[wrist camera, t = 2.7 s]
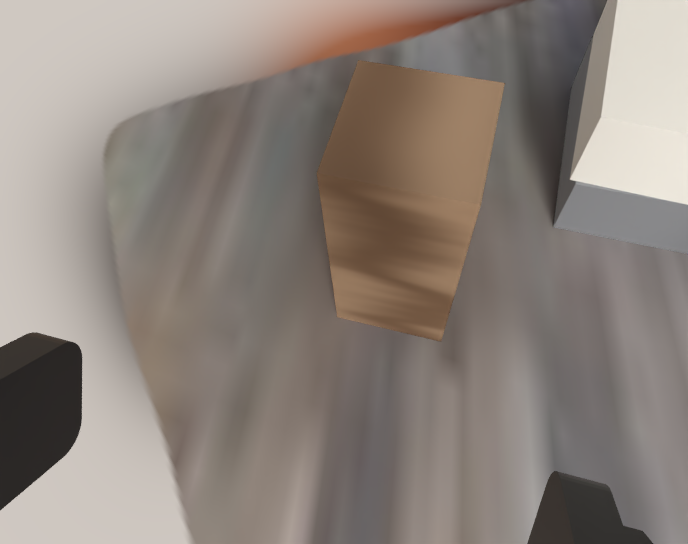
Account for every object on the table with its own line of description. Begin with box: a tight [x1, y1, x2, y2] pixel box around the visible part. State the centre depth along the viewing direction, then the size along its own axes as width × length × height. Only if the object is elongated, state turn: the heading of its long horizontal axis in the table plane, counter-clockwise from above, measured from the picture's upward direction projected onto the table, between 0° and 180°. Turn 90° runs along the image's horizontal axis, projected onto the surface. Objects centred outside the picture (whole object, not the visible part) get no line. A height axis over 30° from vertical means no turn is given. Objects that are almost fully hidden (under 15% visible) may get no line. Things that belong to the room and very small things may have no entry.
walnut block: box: [317, 60, 505, 341], centre depth 23 cm, size 5×5×11 cm
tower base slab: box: [553, 36, 688, 254], centre depth 29 cm, size 10×10×4 cm
